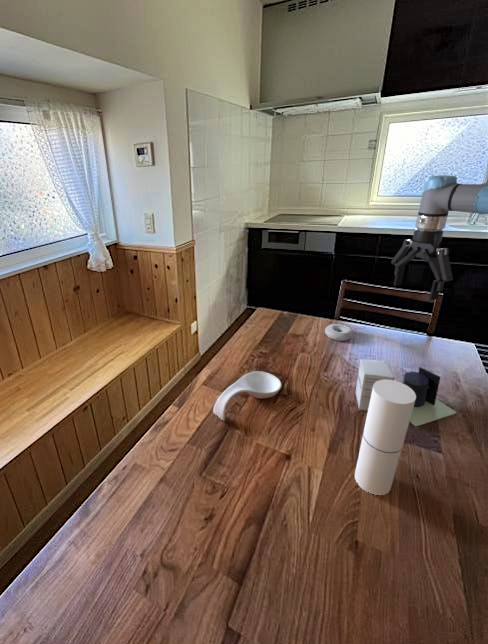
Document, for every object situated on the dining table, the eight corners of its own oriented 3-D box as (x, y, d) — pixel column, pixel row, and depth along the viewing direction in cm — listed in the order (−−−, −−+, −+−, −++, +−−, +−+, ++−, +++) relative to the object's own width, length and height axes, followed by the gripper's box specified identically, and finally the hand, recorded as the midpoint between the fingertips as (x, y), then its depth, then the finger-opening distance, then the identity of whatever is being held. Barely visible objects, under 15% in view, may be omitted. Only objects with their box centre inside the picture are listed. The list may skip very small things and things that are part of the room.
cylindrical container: (349, 481, 75) (367, 392, 65) (361, 461, 79) (380, 375, 69) (384, 502, 70) (409, 409, 60) (395, 479, 75) (420, 389, 64)
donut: (322, 329, 137) (326, 341, 128) (323, 321, 136) (327, 333, 127) (349, 330, 135) (354, 343, 126) (350, 323, 133) (355, 335, 124)
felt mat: (456, 413, 91) (457, 412, 91) (416, 426, 88) (416, 425, 88) (411, 383, 104) (412, 382, 103) (374, 393, 100) (374, 393, 100)
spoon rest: (259, 375, 112) (260, 357, 109) (288, 392, 103) (290, 373, 100) (205, 408, 99) (204, 388, 96) (233, 431, 90) (233, 410, 87)
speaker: (420, 391, 99) (426, 363, 94) (435, 405, 94) (442, 376, 89) (395, 396, 99) (400, 369, 94) (409, 410, 94) (415, 382, 89)
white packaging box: (354, 393, 101) (359, 358, 96) (382, 396, 98) (389, 360, 93) (357, 410, 95) (363, 373, 89) (387, 414, 92) (395, 377, 87)
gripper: (386, 223, 114) (376, 281, 123) (460, 238, 92) (440, 308, 101) (404, 221, 116) (392, 278, 125) (480, 235, 94) (459, 304, 103)
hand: (414, 292), depth 113 cm, fingers open, 13 cm apart
